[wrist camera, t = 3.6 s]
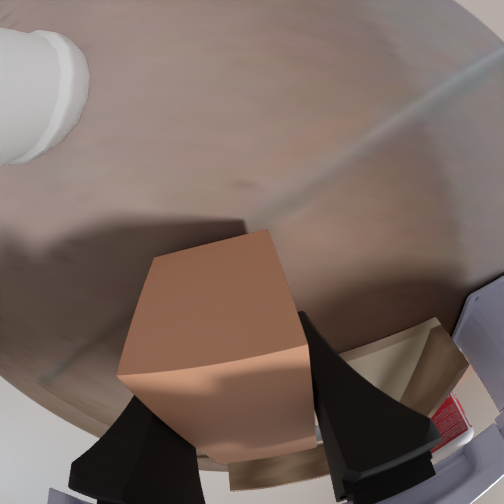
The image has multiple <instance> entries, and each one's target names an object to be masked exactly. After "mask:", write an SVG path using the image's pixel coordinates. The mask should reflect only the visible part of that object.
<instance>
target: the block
mask: <svg viewBox="0 0 504 504" xmlns="http://www.w3.org/2000/svg"><path fill="white" fill-rule="evenodd" d="M116 376H117V377H118V378H119V379H120V380H121V381H122V382H123V383H124V384H125V385H126V387H127V388H128V389H129V390H130V391H131V392H132V393H133V394H134V395H135V396H136V397H137V398H138V399H139V400H140V401H142V402H143V403H144V404H145V405H146V406H147V407H148V408H149V409H150V410H151V411H152V412H153V413H154V414H155V415H157V416H158V417H159V418H160V419H161V420H162V421H163V422H165V423H166V424H167V425H168V426H169V427H170V428H172V429H173V430H174V431H175V432H176V433H178V434H179V435H180V436H181V437H183V438H184V439H185V440H186V441H188V442H189V443H190V444H192V445H193V446H194V447H196V448H197V449H198V450H200V451H201V452H202V453H204V454H205V455H207V456H208V457H209V458H211V459H212V460H214V461H215V462H217V463H218V464H219V463H231V462H241V461H249V460H256V459H263V458H269V457H275V456H280V455H286V454H291V453H295V452H300V451H304V450H308V449H312V448H316V447H317V445H316V429H315V414H314V401H313V390H312V379H311V368H310V358H309V349H308V343H307V340H306V337H305V334H304V331H303V328H302V325H301V322H300V319H299V316H298V313H297V310H296V307H295V304H294V301H293V298H292V296H291V293H290V290H289V287H288V284H287V281H286V278H285V275H284V273H283V270H282V267H281V264H280V261H279V258H278V256H277V253H276V250H275V247H274V245H273V242H272V239H271V236H270V233H269V231H268V229H266V230H262V231H258V232H254V233H250V234H246V235H241V236H237V237H233V238H229V239H225V240H221V241H217V242H213V243H209V244H205V245H201V246H197V247H193V248H189V249H185V250H181V251H177V252H174V253H170V254H166V255H162V256H158V257H154V259H153V262H152V265H151V267H150V270H149V273H148V275H147V278H146V281H145V284H144V286H143V289H142V292H141V295H140V298H139V301H138V304H137V307H136V310H135V313H134V316H133V319H132V322H131V325H130V329H129V332H128V335H127V339H126V342H125V345H124V349H123V352H122V356H121V360H120V363H119V367H118V371H117V375H116Z"/></svg>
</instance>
